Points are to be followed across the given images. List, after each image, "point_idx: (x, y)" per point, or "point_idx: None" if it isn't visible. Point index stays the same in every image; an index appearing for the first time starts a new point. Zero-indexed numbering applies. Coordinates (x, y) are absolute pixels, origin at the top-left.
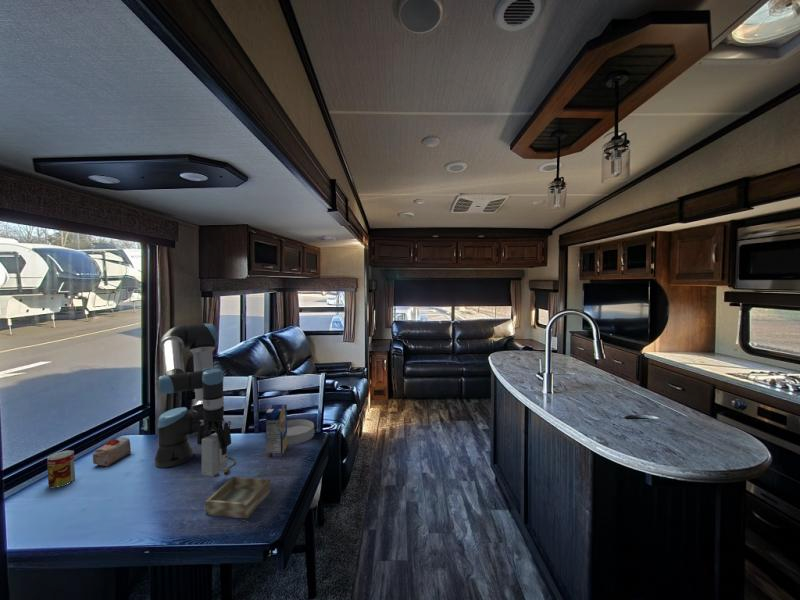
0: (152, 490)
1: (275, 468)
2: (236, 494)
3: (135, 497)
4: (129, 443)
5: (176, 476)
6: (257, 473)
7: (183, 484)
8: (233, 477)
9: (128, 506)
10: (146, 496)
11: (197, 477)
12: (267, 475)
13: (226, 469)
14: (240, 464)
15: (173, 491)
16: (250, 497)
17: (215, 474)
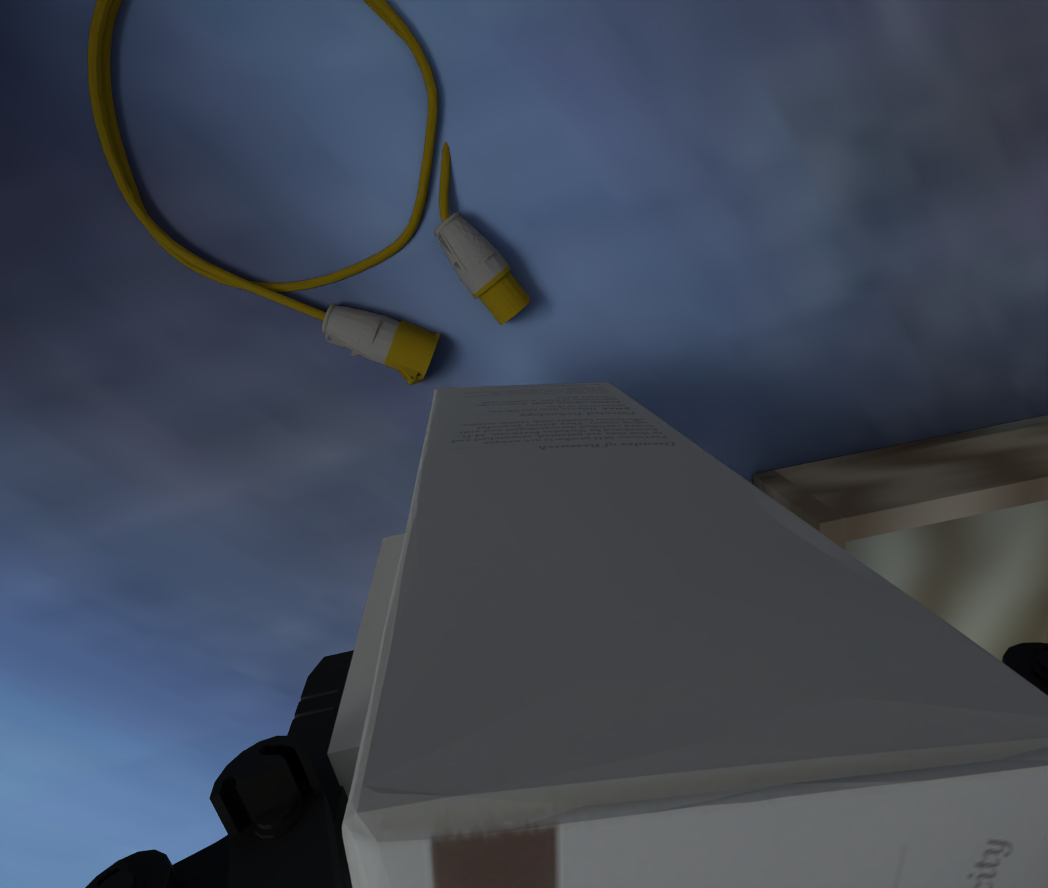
0: (97, 707)
1: (989, 6)
2: (856, 552)
3: (83, 796)
4: None
5: (32, 499)
6: (833, 179)
7: (259, 569)
8: (837, 536)
9: (169, 859)
10: (150, 764)
11: (266, 444)
12: (958, 182)
13: (488, 274)
14: (502, 45)
15: (286, 660)
16: (985, 545)
17: (426, 371)
